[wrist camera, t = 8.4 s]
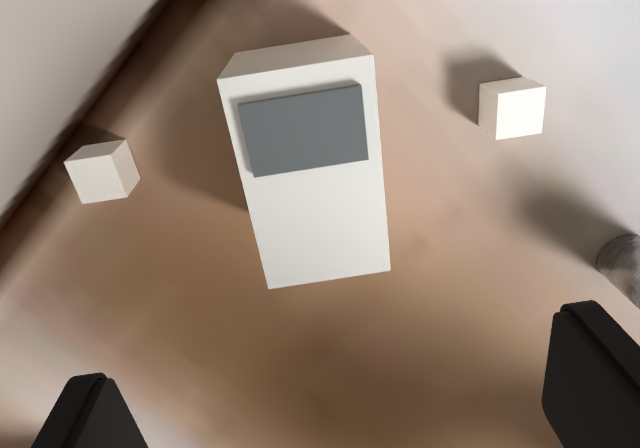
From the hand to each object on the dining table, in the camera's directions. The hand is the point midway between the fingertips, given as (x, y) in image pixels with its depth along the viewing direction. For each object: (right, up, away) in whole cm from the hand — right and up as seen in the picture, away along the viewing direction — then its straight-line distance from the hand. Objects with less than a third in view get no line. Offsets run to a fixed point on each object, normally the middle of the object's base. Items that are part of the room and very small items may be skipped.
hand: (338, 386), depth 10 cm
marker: (-12, +7, +16) cm, 21 cm away
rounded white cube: (+10, +10, +16) cm, 21 cm away
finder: (-1, +8, +16) cm, 18 cm away
